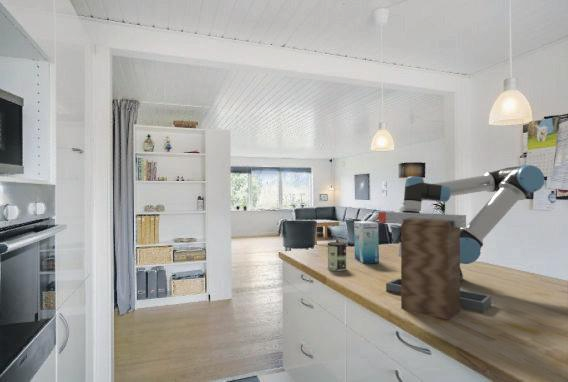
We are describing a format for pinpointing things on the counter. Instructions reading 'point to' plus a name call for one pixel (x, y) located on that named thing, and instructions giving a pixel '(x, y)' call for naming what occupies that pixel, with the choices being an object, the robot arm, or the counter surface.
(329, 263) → the coffee can
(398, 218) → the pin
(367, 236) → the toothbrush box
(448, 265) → the post
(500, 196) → the robot arm
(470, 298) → the tray
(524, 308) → the counter surface
